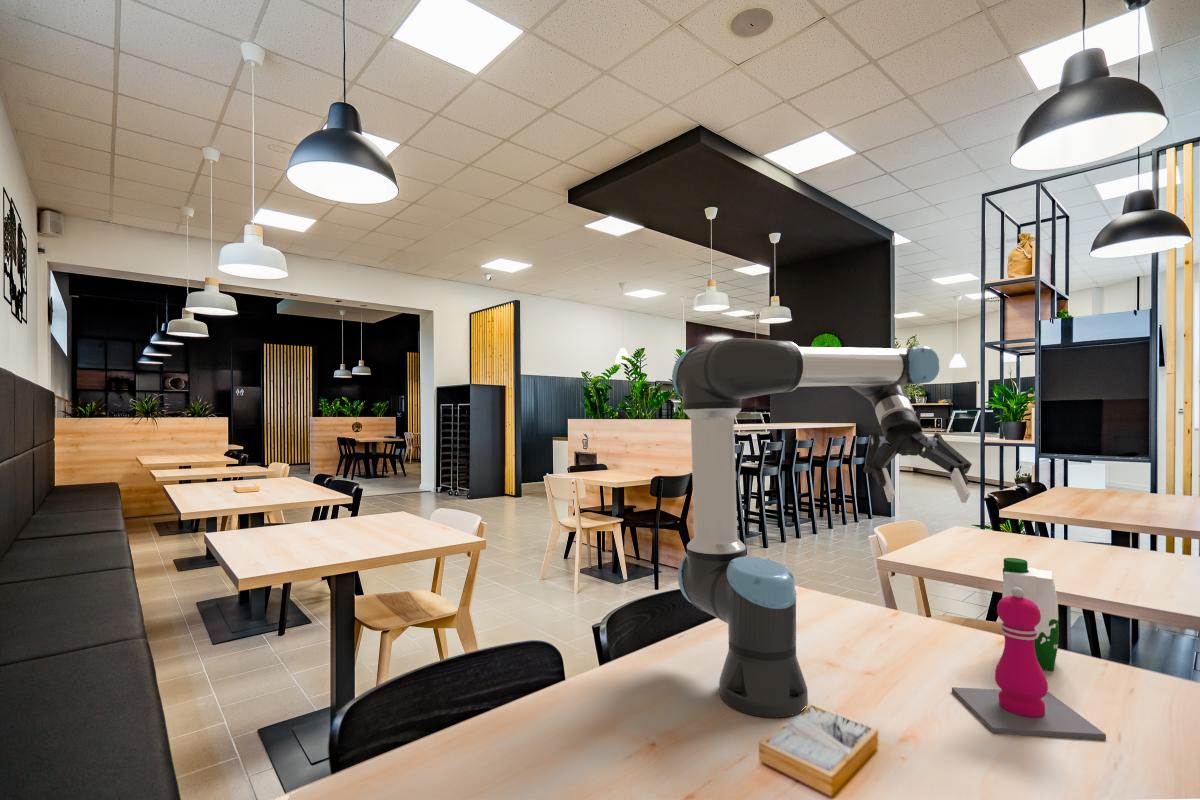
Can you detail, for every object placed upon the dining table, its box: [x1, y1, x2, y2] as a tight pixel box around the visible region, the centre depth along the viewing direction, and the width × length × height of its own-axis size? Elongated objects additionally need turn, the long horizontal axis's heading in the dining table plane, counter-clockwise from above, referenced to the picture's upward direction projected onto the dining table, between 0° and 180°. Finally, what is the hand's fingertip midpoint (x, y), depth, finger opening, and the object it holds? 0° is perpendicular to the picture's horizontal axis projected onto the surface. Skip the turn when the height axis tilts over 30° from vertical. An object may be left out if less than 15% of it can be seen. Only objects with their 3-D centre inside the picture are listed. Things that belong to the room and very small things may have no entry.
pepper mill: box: [994, 587, 1049, 717], centre depth 98 cm, size 7×7×20 cm
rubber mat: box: [951, 686, 1107, 740], centre depth 97 cm, size 16×14×1 cm
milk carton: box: [1001, 557, 1060, 672], centre depth 119 cm, size 9×9×20 cm
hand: (928, 498), depth 114 cm, fingers open, 13 cm apart
